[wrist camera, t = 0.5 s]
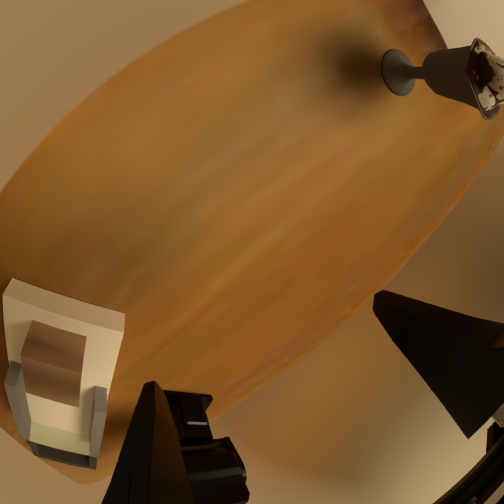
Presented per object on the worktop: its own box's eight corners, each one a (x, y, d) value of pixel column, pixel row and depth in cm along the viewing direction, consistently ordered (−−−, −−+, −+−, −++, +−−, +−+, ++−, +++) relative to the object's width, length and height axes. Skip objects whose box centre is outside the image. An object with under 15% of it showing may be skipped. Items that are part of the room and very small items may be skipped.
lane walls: (98, 437, 26) (99, 457, 23) (23, 418, 21) (20, 437, 18) (106, 387, 23) (107, 412, 20) (10, 360, 18) (3, 383, 15)
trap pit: (94, 457, 32) (95, 469, 30) (34, 443, 27) (34, 455, 25) (96, 443, 30) (97, 457, 28) (30, 426, 25) (28, 440, 23)
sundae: (426, 77, 21) (551, 99, 9) (401, 117, 23) (540, 155, 10) (393, 29, 18) (532, 28, 5) (364, 67, 19) (525, 77, 7)
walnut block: (81, 372, 21) (79, 407, 17) (33, 358, 18) (25, 392, 15) (86, 336, 19) (81, 373, 16) (32, 319, 17) (20, 354, 14)
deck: (96, 443, 30) (97, 457, 28) (30, 426, 25) (28, 440, 23) (124, 313, 23) (124, 332, 20) (12, 277, 17) (2, 294, 15)
